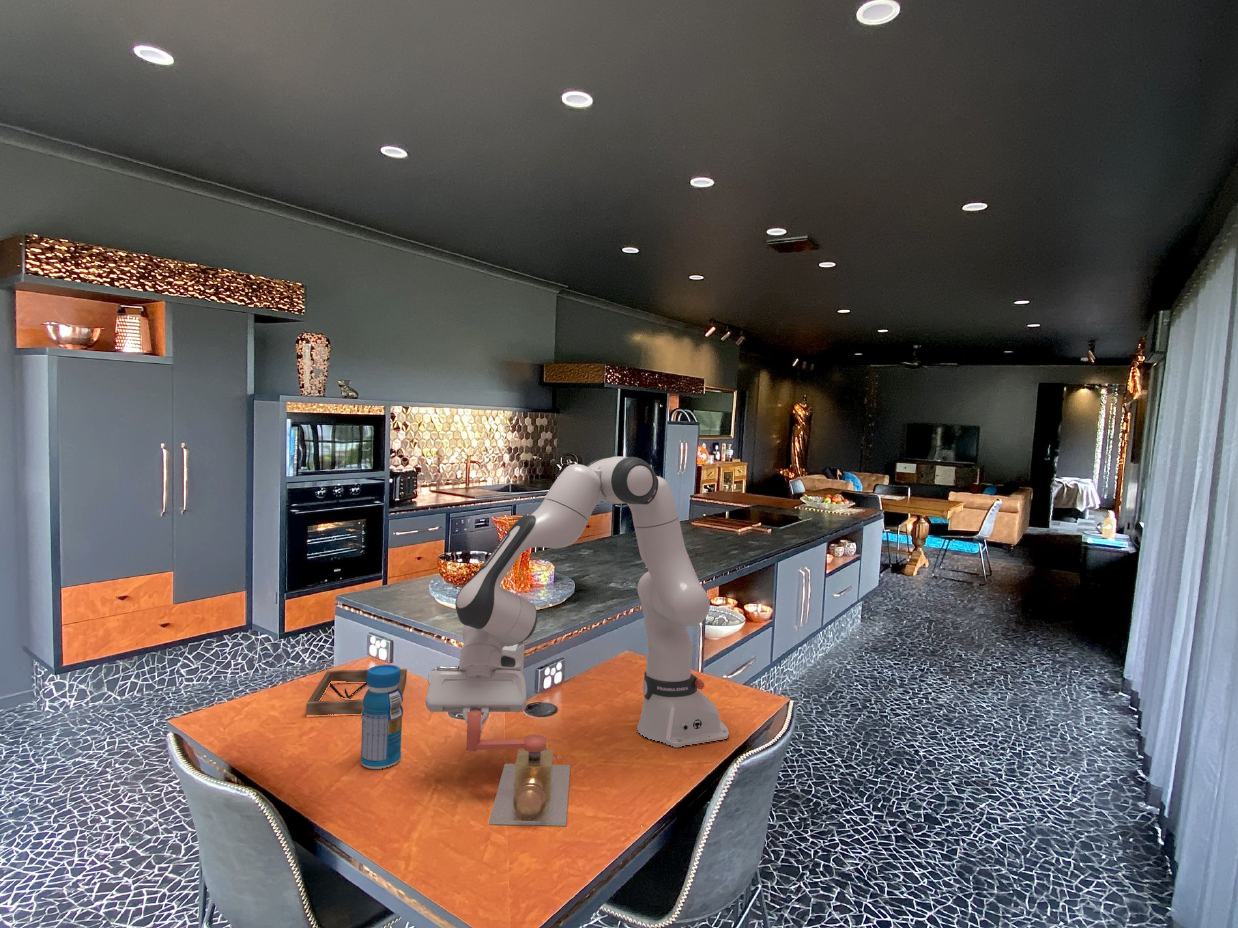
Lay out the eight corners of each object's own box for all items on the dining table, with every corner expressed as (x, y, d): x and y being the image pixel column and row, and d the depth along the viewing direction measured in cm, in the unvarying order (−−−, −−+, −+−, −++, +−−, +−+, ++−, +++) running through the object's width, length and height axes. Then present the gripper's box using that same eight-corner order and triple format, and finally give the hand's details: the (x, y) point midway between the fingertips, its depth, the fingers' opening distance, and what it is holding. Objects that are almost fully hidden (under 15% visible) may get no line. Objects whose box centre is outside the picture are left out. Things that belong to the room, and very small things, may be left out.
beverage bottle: (360, 773, 140) (364, 677, 139) (358, 755, 147) (361, 664, 147) (403, 767, 143) (406, 673, 143) (399, 750, 151) (402, 661, 150)
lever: (545, 742, 137) (546, 707, 136) (546, 751, 132) (548, 716, 132) (467, 744, 134) (468, 708, 134) (465, 754, 130) (466, 717, 130)
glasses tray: (406, 680, 194) (406, 668, 194) (397, 713, 171) (397, 700, 171) (326, 682, 190) (327, 670, 190) (306, 717, 166) (306, 703, 166)
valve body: (504, 767, 145) (506, 725, 145) (570, 768, 146) (571, 726, 145) (489, 824, 123) (490, 774, 123) (566, 825, 124) (568, 776, 123)
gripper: (428, 659, 140) (418, 725, 130) (528, 660, 142) (525, 725, 133) (431, 673, 144) (421, 738, 135) (527, 673, 147) (524, 737, 138)
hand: (473, 731), depth 134 cm, fingers closed, pressing on lever
